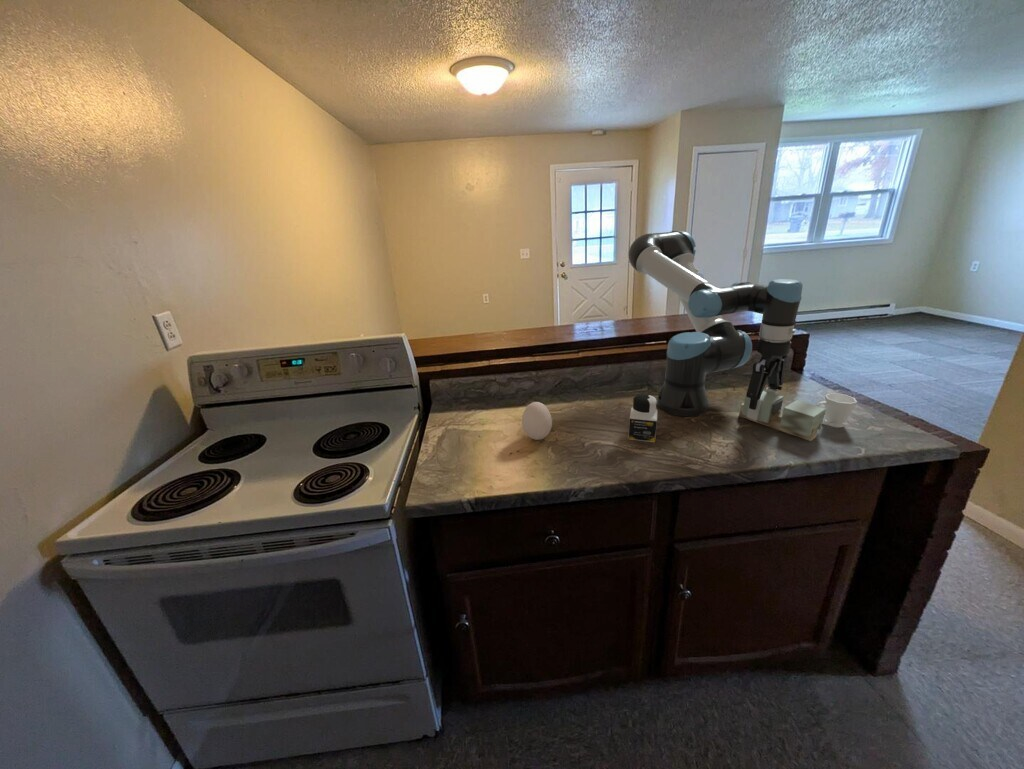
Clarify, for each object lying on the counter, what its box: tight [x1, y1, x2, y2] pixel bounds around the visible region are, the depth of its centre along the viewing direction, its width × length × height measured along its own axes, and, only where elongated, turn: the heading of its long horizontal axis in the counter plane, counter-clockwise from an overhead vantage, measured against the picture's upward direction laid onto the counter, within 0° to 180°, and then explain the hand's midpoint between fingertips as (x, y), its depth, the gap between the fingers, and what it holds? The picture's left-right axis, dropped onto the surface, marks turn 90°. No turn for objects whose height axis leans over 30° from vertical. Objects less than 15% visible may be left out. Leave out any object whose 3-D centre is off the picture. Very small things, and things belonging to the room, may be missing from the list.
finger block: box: [742, 390, 784, 423], centre depth 114 cm, size 7×7×6 cm
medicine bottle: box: [628, 393, 659, 443], centre depth 111 cm, size 7×7×12 cm
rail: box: [738, 399, 826, 442], centre depth 112 cm, size 19×7×8 cm, turn 34°
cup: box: [815, 392, 858, 428], centre depth 111 cm, size 7×10×8 cm
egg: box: [521, 401, 553, 441], centre depth 113 cm, size 9×9×11 cm
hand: (760, 413), depth 116 cm, fingers open, 8 cm apart
